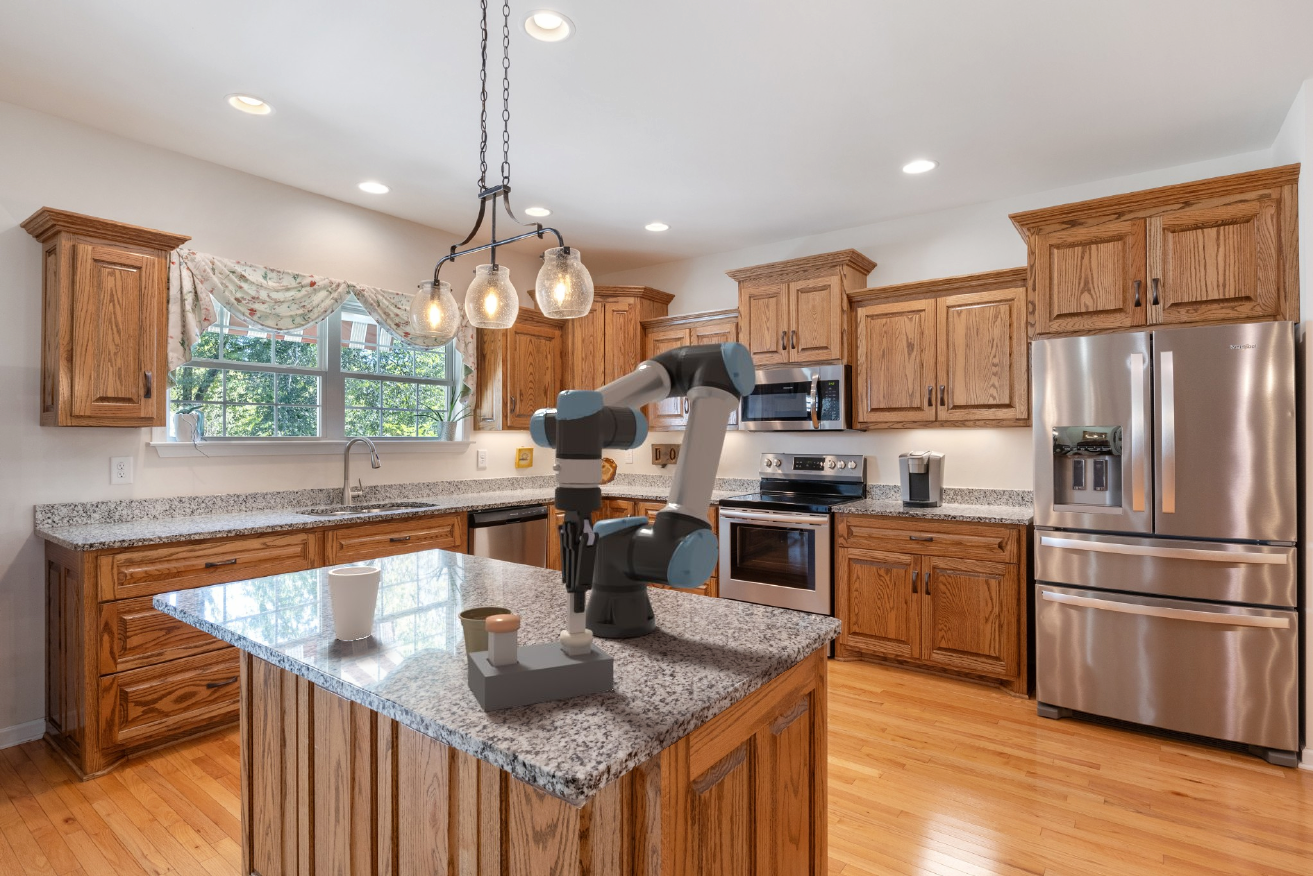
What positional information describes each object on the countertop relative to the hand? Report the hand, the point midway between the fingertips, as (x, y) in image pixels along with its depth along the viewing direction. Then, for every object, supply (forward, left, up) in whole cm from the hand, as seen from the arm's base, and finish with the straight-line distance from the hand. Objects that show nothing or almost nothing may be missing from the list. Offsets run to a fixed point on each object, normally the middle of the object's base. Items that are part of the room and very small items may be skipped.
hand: (575, 631), depth 109 cm
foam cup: (+31, -42, -8) cm, 53 cm away
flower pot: (+11, -16, -9) cm, 21 cm away
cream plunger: (0, 0, -7) cm, 7 cm away
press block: (+6, 0, -8) cm, 10 cm away
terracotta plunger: (+12, 0, -4) cm, 12 cm away
